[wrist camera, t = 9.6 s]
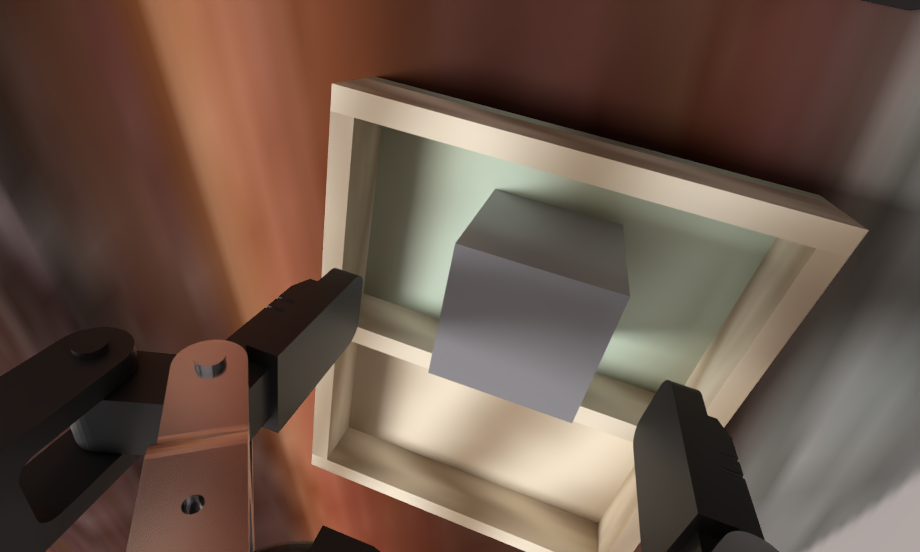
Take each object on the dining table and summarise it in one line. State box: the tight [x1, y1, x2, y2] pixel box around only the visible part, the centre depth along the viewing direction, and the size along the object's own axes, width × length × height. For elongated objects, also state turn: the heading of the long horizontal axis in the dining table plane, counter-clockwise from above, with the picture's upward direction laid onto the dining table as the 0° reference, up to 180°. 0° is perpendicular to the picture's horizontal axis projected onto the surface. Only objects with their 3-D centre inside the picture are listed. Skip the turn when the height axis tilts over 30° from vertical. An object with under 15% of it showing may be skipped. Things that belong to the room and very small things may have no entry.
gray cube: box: [428, 189, 630, 423], centre depth 15 cm, size 4×4×5 cm
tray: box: [312, 77, 869, 552], centre depth 18 cm, size 15×18×3 cm
